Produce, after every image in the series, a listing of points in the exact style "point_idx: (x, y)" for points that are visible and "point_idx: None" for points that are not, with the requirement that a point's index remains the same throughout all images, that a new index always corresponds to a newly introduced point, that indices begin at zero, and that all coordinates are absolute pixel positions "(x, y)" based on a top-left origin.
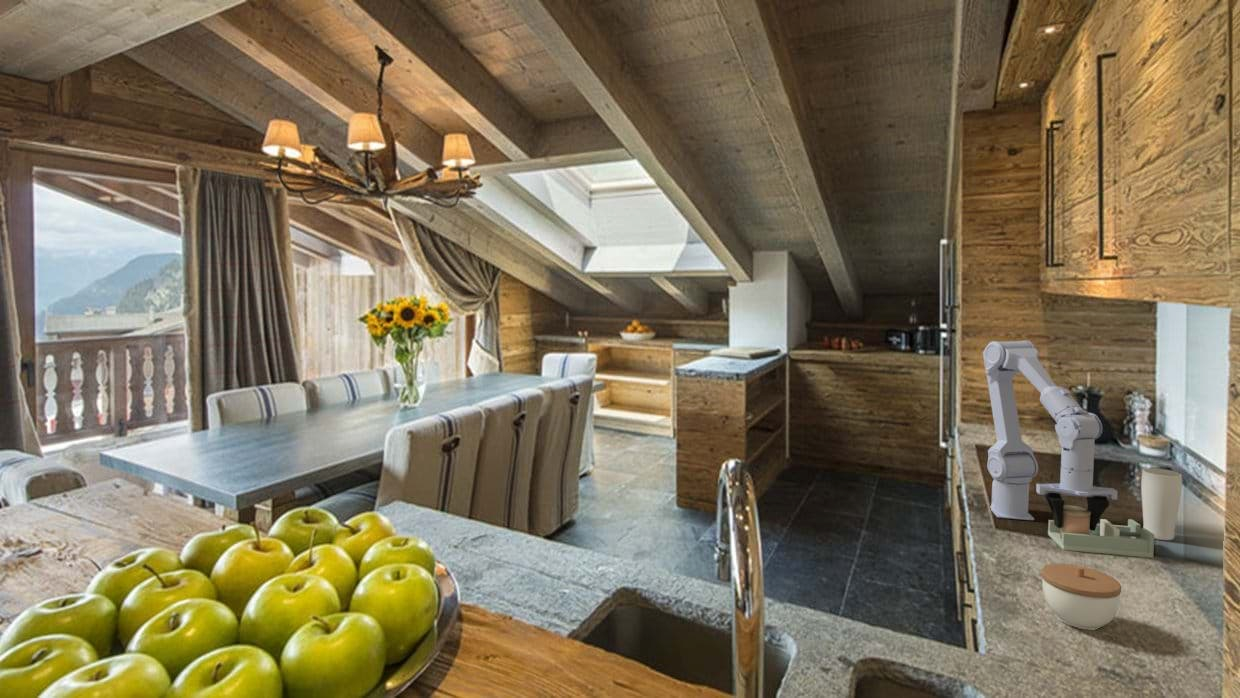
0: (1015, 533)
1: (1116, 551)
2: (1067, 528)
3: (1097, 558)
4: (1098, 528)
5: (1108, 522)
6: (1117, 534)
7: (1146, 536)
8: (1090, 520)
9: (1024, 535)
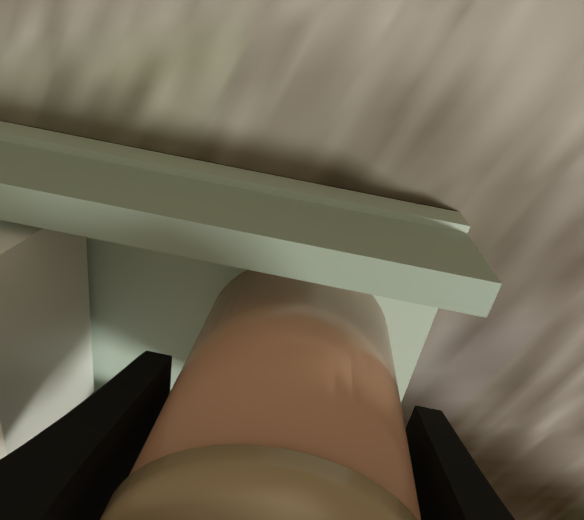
0: (576, 461)
1: (92, 147)
2: (390, 379)
3: (294, 44)
4: None
5: None
6: None
7: None
8: (131, 452)
9: (541, 435)
